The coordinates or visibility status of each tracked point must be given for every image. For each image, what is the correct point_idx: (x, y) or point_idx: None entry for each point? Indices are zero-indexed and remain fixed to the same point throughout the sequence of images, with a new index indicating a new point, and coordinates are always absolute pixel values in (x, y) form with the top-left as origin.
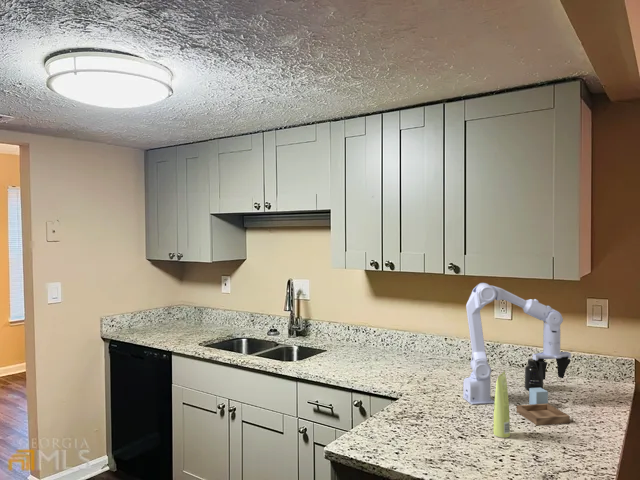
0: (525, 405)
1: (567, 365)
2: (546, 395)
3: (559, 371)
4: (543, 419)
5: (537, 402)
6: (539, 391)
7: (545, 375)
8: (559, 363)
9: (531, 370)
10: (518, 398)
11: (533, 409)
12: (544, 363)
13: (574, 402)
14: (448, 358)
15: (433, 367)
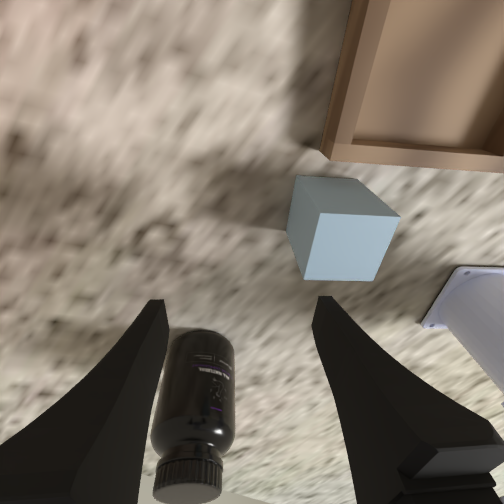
0: (470, 161)
1: (64, 404)
2: (323, 202)
3: (156, 362)
4: None
5: (365, 190)
6: (369, 225)
7: (332, 317)
8: (134, 448)
9: (226, 425)
10: (327, 291)
11: (418, 144)
12: (468, 432)
13: (110, 209)
14: (272, 496)
15: (349, 468)
